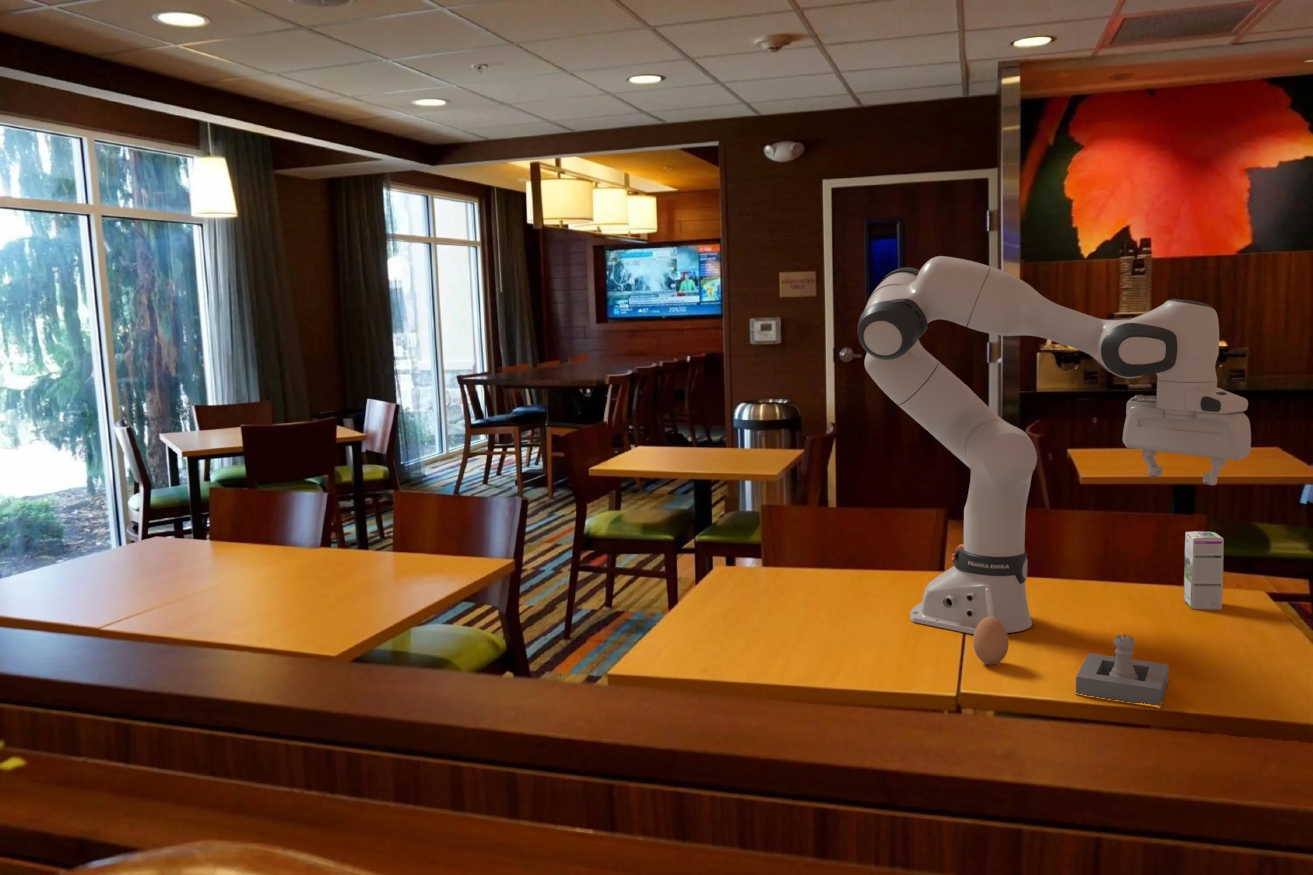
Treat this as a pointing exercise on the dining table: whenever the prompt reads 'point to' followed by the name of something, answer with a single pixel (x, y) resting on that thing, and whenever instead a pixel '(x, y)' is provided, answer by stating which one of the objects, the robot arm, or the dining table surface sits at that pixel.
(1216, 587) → the syrup box
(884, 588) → the dining table surface
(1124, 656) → the rook chess piece
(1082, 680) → the socket block
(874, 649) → the dining table surface
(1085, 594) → the dining table surface
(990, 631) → the egg
